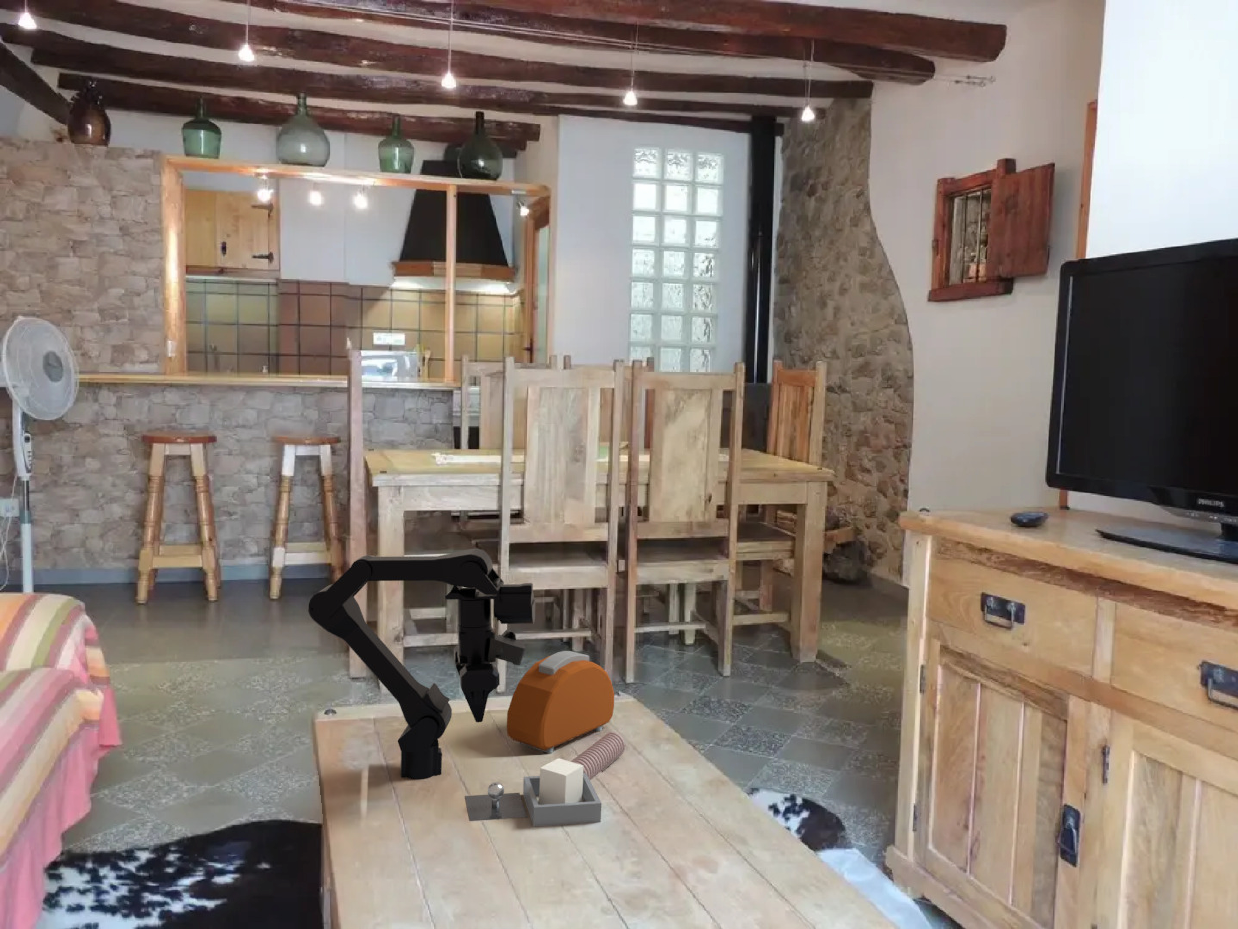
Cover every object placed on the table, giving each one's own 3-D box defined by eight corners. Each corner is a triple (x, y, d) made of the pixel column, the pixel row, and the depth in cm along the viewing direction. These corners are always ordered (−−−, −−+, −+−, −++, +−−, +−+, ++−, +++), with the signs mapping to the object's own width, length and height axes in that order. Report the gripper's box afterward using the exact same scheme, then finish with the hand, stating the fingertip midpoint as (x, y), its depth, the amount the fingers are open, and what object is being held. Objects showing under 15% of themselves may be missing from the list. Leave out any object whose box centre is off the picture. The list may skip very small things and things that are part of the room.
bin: (533, 832, 146) (534, 807, 146) (522, 800, 157) (523, 776, 157) (600, 828, 149) (601, 803, 148) (585, 796, 160) (586, 773, 159)
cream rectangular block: (564, 818, 149) (566, 775, 149) (538, 810, 152) (540, 768, 151) (581, 807, 154) (583, 765, 153) (556, 799, 156) (558, 758, 156)
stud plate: (469, 827, 147) (470, 796, 146) (464, 802, 156) (465, 773, 155) (527, 823, 149) (528, 793, 149) (519, 798, 158) (520, 770, 157)
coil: (587, 768, 161) (629, 735, 178) (563, 760, 163) (606, 727, 179) (583, 794, 162) (625, 758, 178) (559, 785, 164) (603, 751, 180)
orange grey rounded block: (580, 716, 198) (583, 638, 197) (614, 726, 193) (618, 646, 192) (503, 748, 179) (506, 661, 178) (540, 760, 174) (543, 671, 173)
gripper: (529, 634, 155) (531, 727, 156) (514, 608, 173) (516, 692, 174) (460, 639, 152) (462, 733, 153) (452, 612, 170) (454, 697, 171)
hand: (476, 713), depth 163 cm, fingers open, 9 cm apart
